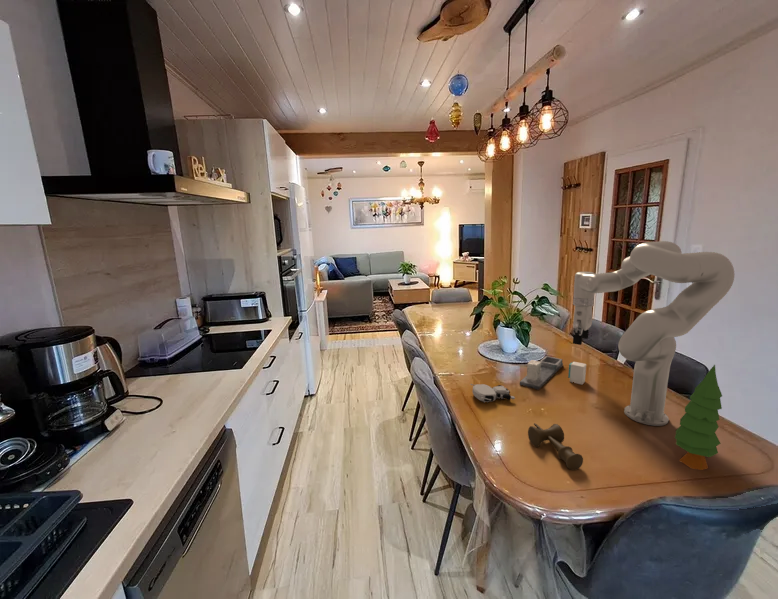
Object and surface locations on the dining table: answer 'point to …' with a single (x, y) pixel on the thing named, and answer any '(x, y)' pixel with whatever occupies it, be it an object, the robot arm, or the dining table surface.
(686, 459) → the decorative tree
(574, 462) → the kendama
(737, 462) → the dining table surface
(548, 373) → the rail
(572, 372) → the cream block teal pad
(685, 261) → the robot arm
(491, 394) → the robot toy
